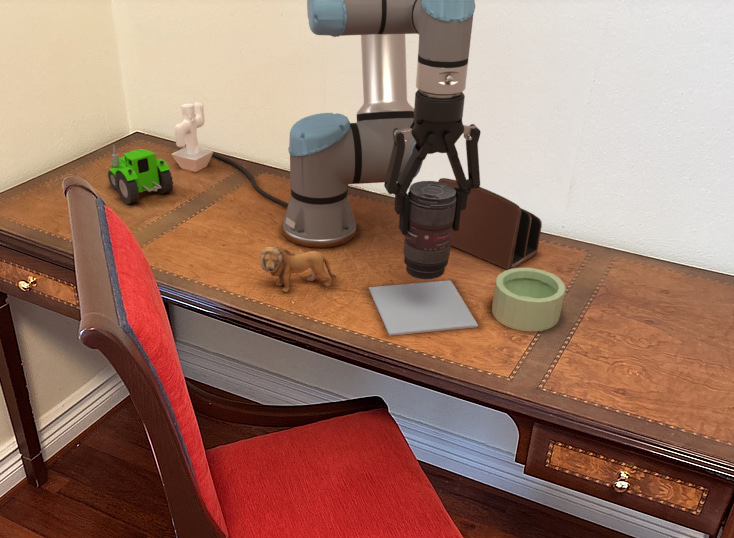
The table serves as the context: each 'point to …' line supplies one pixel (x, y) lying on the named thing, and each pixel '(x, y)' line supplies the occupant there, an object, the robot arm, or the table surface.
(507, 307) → the bowl
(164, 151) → the table surface
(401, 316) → the mat
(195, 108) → the figurine
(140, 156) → the toy tractor
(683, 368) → the table surface
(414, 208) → the camera lens
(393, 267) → the table surface
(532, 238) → the letter holder
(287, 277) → the lion figurine
